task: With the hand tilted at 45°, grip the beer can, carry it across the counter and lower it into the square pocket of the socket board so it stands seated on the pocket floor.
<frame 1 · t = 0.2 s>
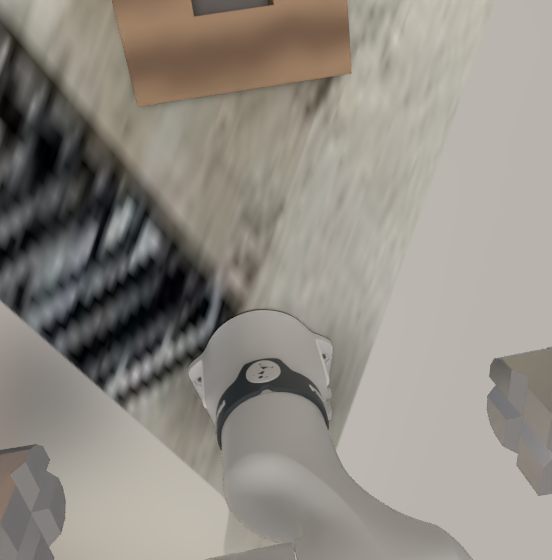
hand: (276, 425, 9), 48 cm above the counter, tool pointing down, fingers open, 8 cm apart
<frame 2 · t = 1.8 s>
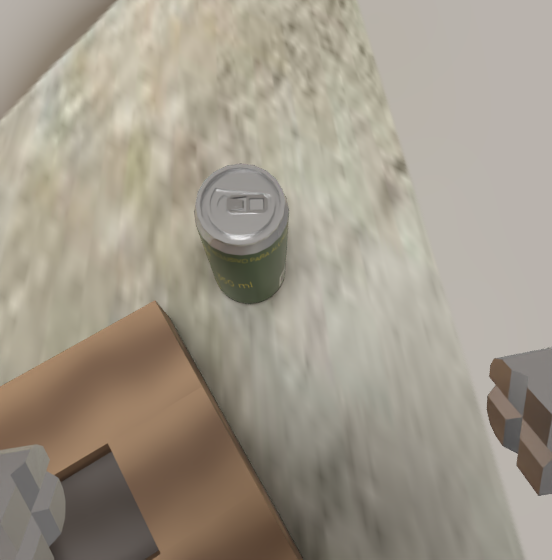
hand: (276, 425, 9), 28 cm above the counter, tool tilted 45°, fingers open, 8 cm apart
beer can: (250, 273, 39), on the counter
socket board: (106, 518, 34), on the counter
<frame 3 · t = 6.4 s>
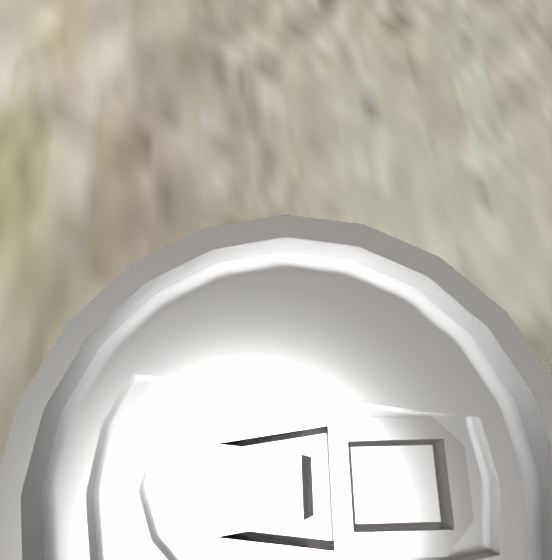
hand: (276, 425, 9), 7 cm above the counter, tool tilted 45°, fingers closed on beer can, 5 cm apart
beer can: (278, 453, 16), on the counter, touching gripper
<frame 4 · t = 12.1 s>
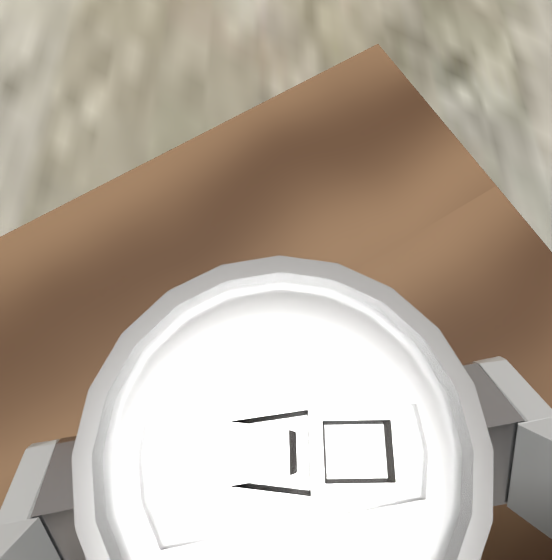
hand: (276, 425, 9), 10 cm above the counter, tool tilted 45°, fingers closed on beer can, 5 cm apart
beer can: (278, 447, 17), point 1 cm above the counter, touching gripper, socket board
socket board: (282, 457, 18), on the counter
when the fingers open (10 cm above the counter, at t = 12.5 s): beer can stays where it is, resting on socket board.
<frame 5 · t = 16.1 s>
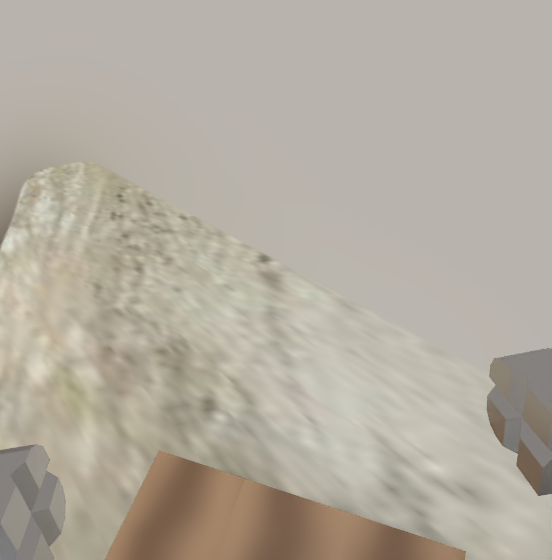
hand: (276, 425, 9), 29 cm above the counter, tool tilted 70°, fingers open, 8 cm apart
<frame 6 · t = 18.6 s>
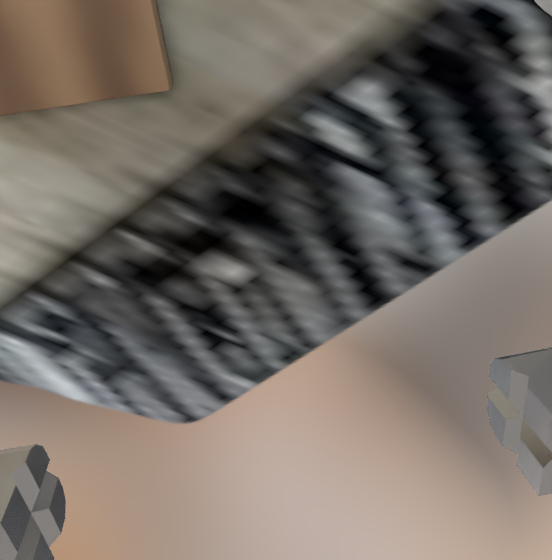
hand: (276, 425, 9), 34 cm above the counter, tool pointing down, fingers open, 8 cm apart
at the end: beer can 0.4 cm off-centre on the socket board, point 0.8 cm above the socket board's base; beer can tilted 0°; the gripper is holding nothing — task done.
